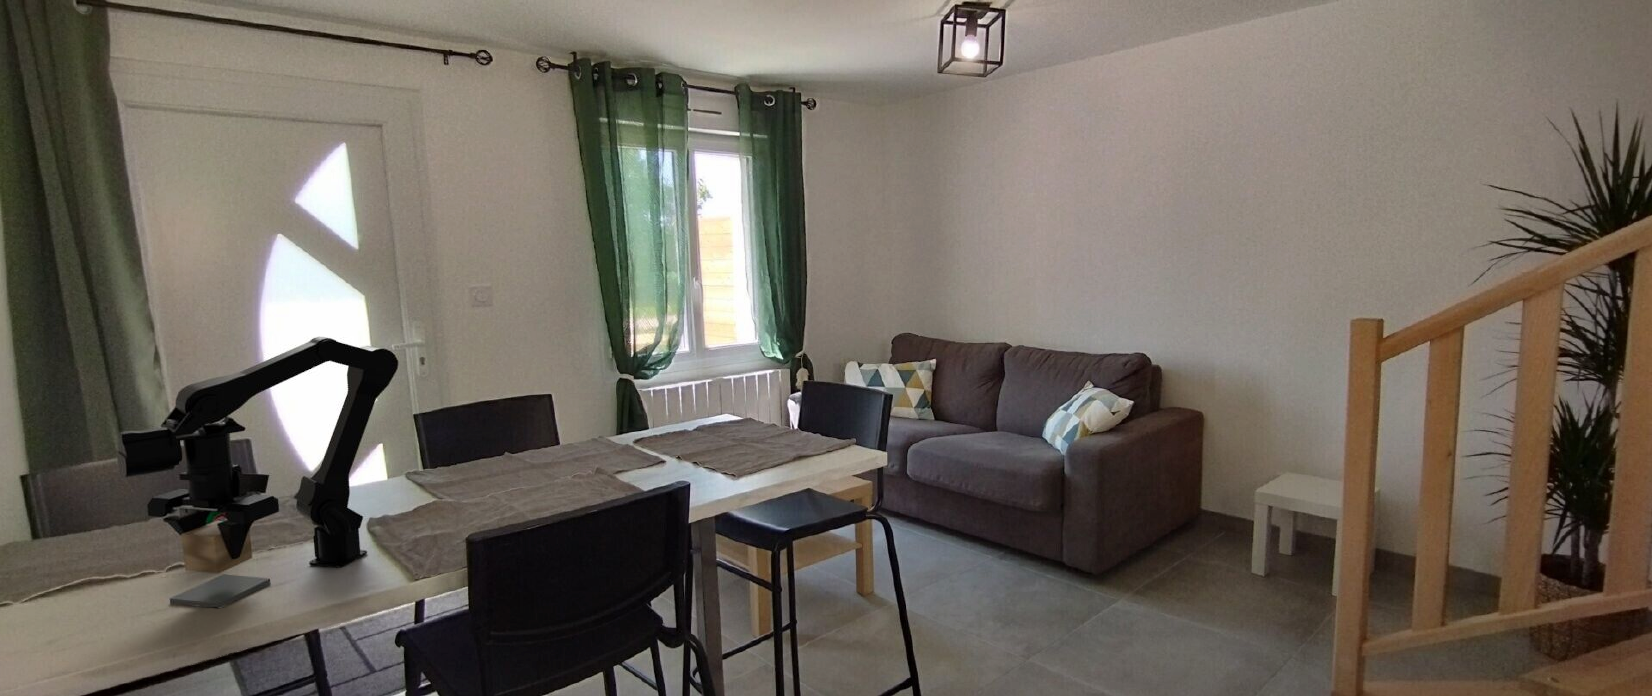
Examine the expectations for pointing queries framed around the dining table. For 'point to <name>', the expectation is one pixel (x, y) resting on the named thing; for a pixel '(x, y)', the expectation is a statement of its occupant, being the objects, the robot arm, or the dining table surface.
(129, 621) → the dining table surface
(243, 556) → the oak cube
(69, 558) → the dining table surface
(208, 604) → the slate coaster
